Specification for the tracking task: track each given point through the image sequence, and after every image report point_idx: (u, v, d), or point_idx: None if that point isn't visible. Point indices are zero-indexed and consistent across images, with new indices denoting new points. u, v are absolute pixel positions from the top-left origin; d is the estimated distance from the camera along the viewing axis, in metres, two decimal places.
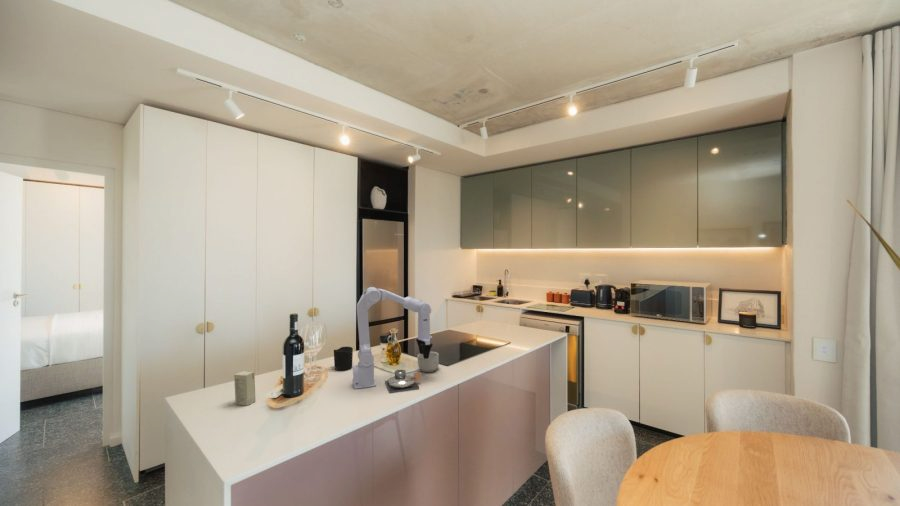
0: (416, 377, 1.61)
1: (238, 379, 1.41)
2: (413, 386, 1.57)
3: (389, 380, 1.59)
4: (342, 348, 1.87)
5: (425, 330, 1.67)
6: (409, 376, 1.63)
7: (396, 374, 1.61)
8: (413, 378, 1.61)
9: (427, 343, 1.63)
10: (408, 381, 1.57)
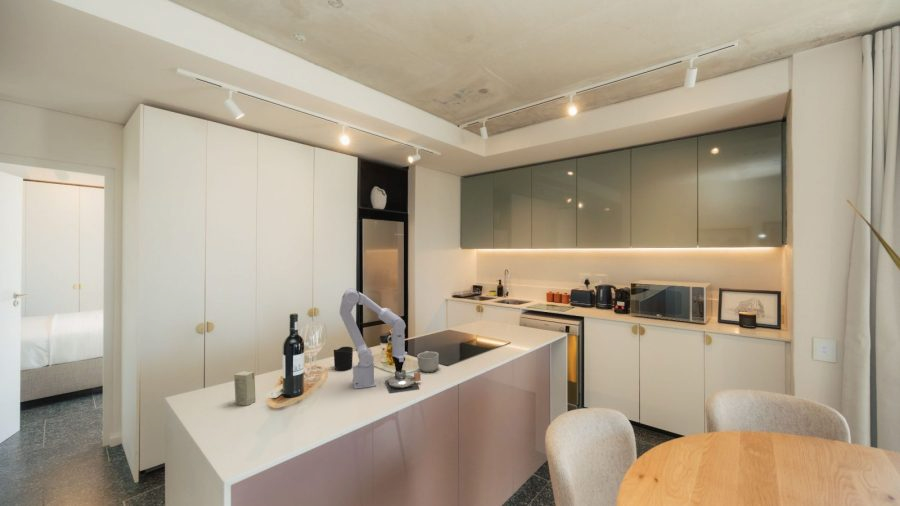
0: (416, 377, 1.61)
1: (238, 379, 1.41)
2: (413, 386, 1.57)
3: (389, 380, 1.59)
4: (342, 348, 1.87)
5: (399, 346, 1.63)
6: (409, 376, 1.63)
7: (396, 374, 1.61)
8: (413, 378, 1.61)
9: (401, 360, 1.59)
10: (408, 381, 1.57)
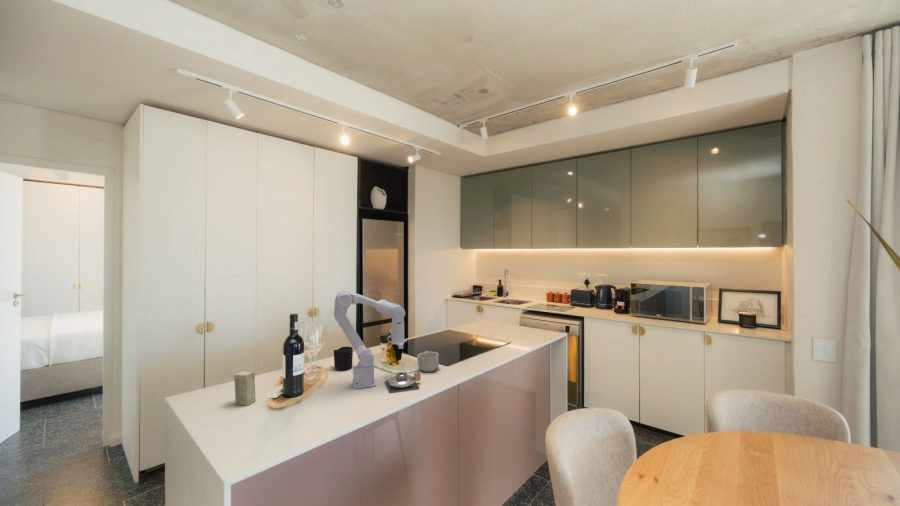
0: (416, 377, 1.61)
1: (238, 379, 1.41)
2: (413, 386, 1.57)
3: (389, 380, 1.59)
4: (342, 348, 1.87)
5: (399, 333, 1.64)
6: (409, 376, 1.63)
7: (397, 377, 1.57)
8: (413, 378, 1.61)
9: (400, 347, 1.60)
10: (408, 381, 1.57)
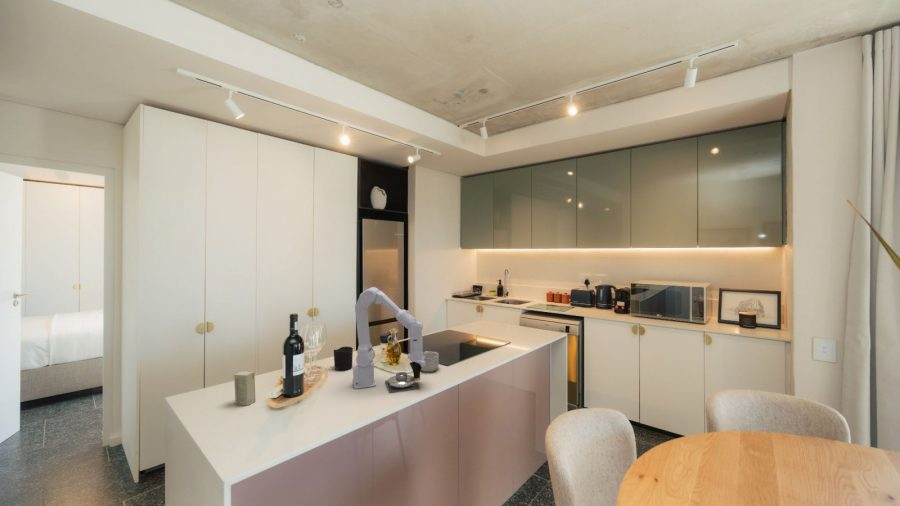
0: None
1: (238, 379, 1.41)
2: (413, 386, 1.57)
3: (389, 380, 1.58)
4: (342, 348, 1.87)
5: (419, 351, 1.58)
6: (408, 376, 1.64)
7: (398, 377, 1.57)
8: (413, 378, 1.61)
9: (423, 365, 1.54)
10: (408, 381, 1.58)
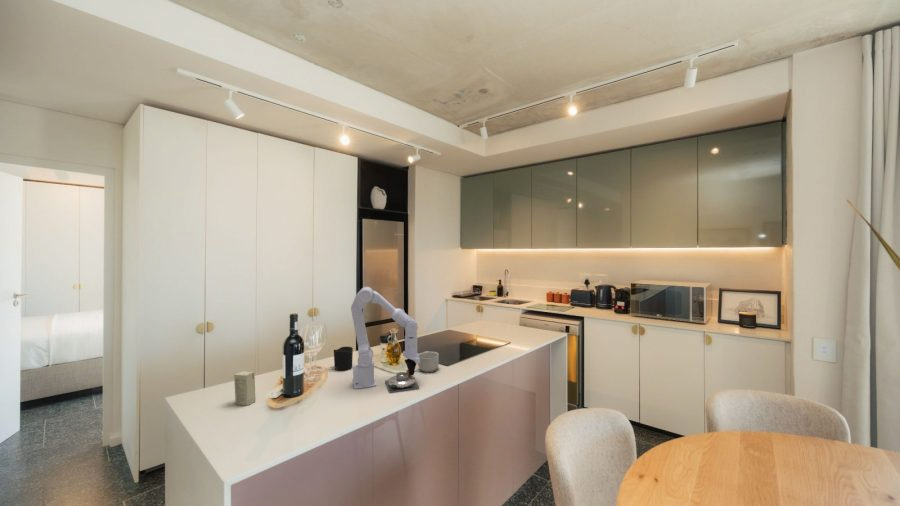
0: None
1: (238, 379, 1.41)
2: (413, 386, 1.57)
3: (393, 383, 1.55)
4: (342, 348, 1.87)
5: (413, 348, 1.62)
6: None
7: (402, 377, 1.57)
8: (408, 375, 1.64)
9: (417, 361, 1.58)
10: (410, 378, 1.61)
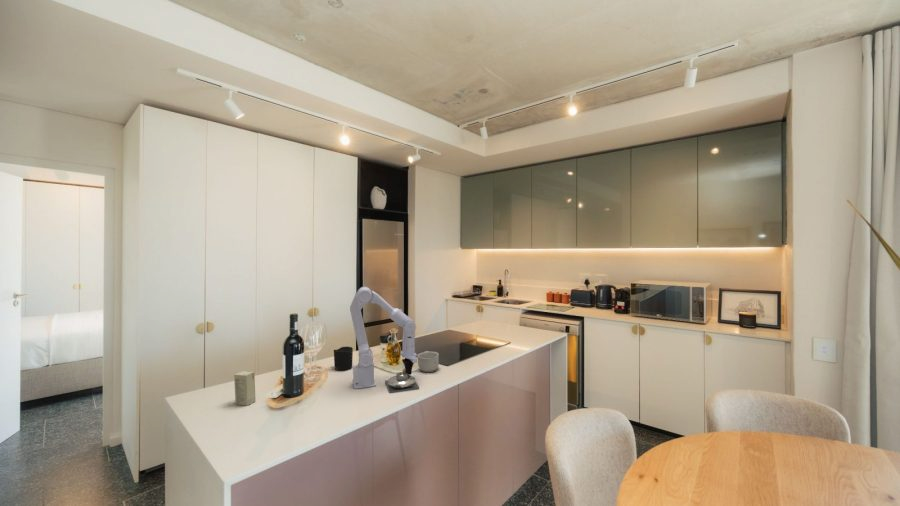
0: None
1: (238, 379, 1.41)
2: (413, 386, 1.57)
3: (397, 384, 1.54)
4: (342, 348, 1.87)
5: (411, 348, 1.64)
6: None
7: (404, 377, 1.58)
8: None
9: (414, 361, 1.60)
10: (410, 377, 1.62)
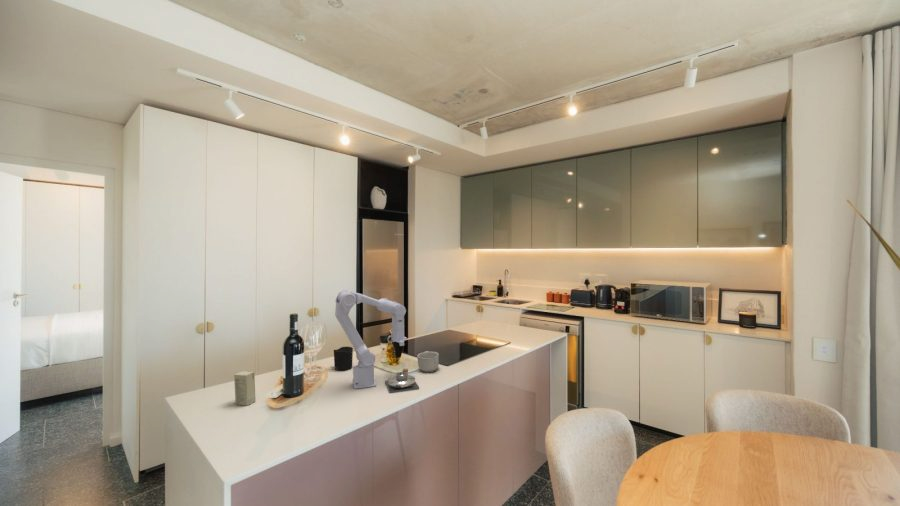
0: (407, 373, 1.66)
1: (238, 379, 1.41)
2: (413, 386, 1.57)
3: (397, 384, 1.54)
4: (342, 348, 1.87)
5: (399, 331, 1.66)
6: None
7: (404, 377, 1.58)
8: None
9: (401, 344, 1.62)
10: (410, 377, 1.62)
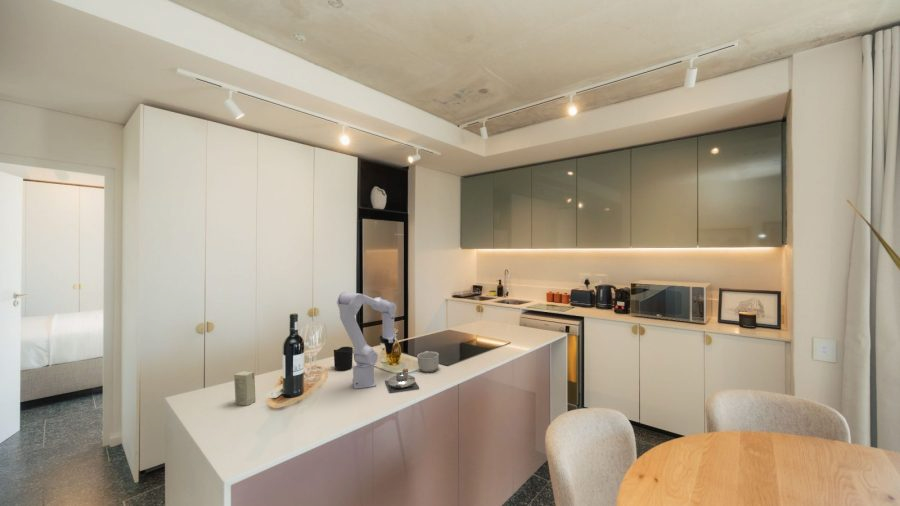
0: (407, 373, 1.66)
1: (238, 379, 1.41)
2: (413, 386, 1.57)
3: (397, 384, 1.54)
4: (342, 348, 1.87)
5: (389, 328, 1.72)
6: None
7: (404, 377, 1.58)
8: None
9: (390, 341, 1.68)
10: (410, 377, 1.62)
